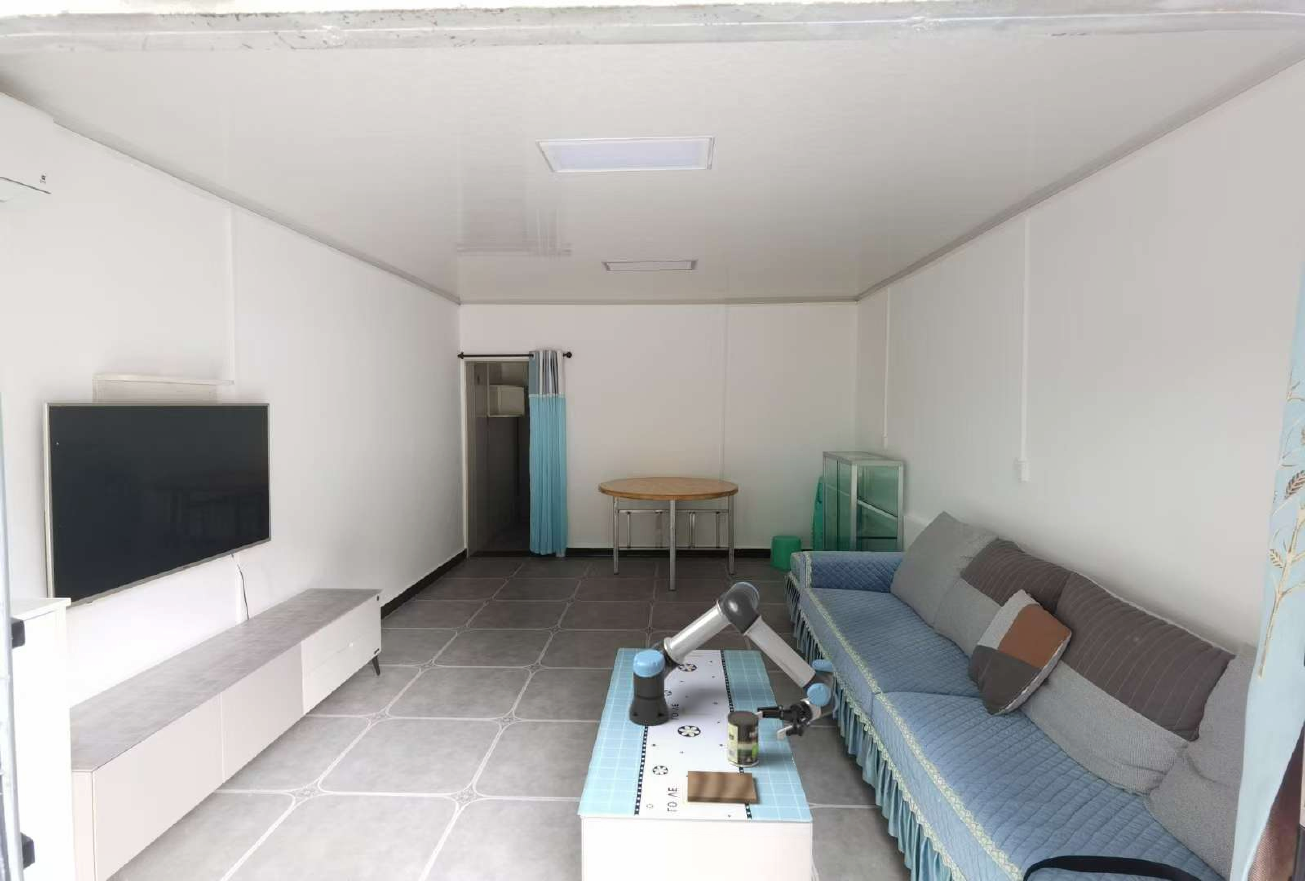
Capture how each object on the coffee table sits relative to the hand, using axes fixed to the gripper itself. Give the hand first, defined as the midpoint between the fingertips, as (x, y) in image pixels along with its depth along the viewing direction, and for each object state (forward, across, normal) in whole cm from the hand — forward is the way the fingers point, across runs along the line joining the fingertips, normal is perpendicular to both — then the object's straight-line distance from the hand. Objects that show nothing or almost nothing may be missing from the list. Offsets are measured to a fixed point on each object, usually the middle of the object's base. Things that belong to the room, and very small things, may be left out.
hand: (762, 727), depth 219 cm
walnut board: (+27, -8, -8) cm, 29 cm away
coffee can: (+9, 0, -8) cm, 12 cm away
